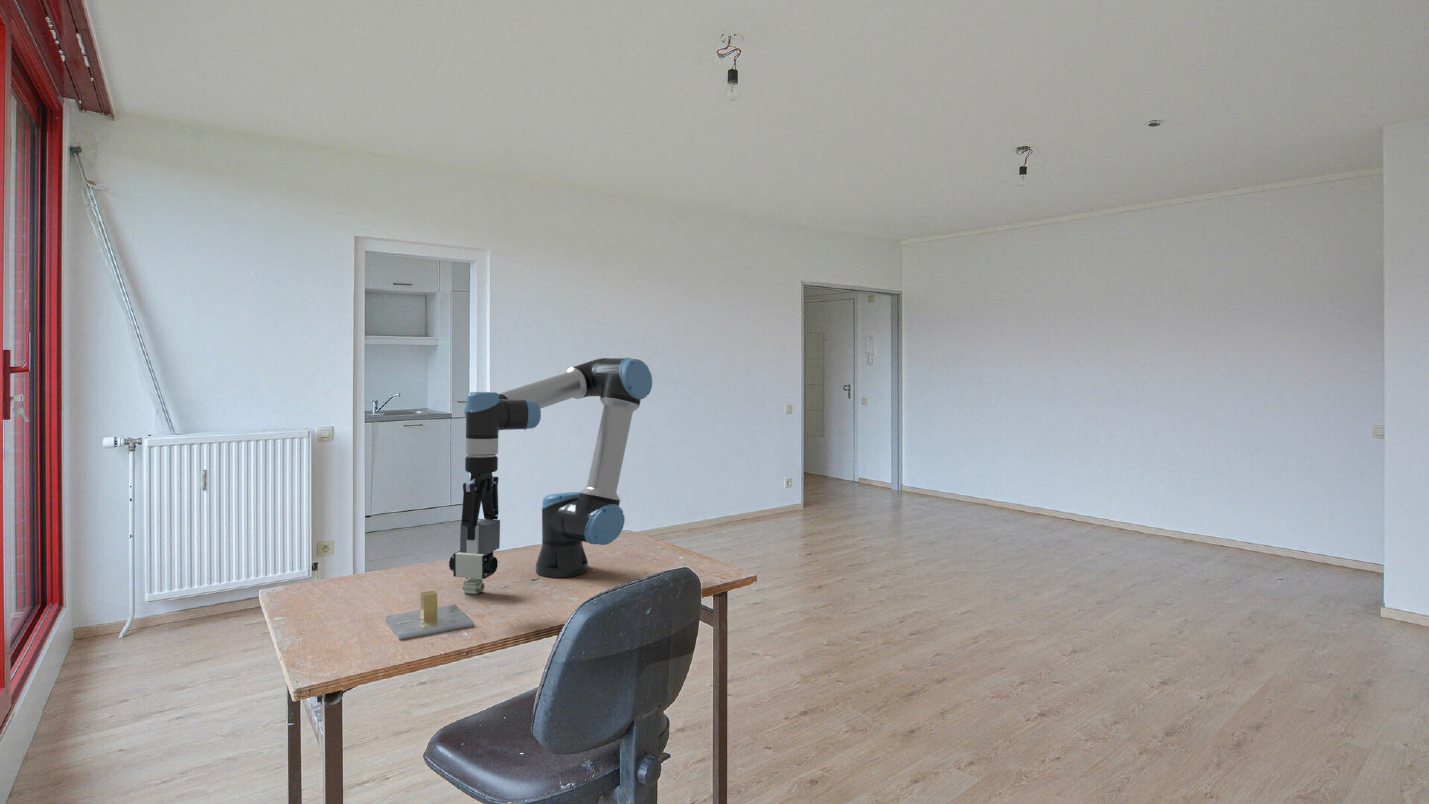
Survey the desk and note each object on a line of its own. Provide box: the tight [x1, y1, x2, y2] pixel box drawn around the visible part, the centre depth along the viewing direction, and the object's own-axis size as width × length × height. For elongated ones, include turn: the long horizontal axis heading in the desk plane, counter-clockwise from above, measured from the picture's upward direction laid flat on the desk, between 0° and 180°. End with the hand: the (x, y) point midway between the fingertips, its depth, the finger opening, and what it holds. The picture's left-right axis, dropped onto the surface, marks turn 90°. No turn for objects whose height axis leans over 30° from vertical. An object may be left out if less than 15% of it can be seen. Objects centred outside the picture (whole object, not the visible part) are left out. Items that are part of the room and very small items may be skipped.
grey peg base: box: [385, 590, 474, 641], centre depth 170 cm, size 16×14×7 cm
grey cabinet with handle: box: [459, 518, 501, 554], centre depth 177 cm, size 7×7×8 cm
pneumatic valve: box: [448, 550, 499, 596], centre depth 193 cm, size 6×12×12 cm, turn 78°
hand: (480, 549), depth 177 cm, fingers closed on grey cabinet with handle, 7 cm apart
